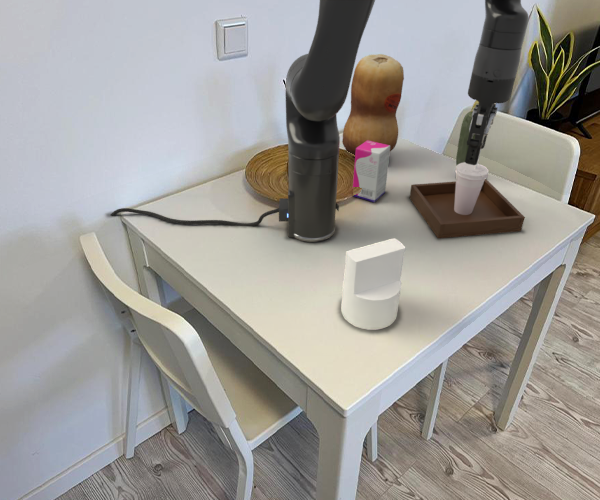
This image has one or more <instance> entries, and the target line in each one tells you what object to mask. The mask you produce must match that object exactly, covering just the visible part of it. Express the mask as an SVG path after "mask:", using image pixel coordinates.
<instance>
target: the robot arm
mask: <svg viewBox="0 0 600 500" xmlns="http://www.w3.org/2000/svg"><path fill="white" fill-rule="evenodd" d="M375 3H376V0H319V5H318V17H317V21H316V22H317V23H316V27H315V32H314V36H313V39H312V41H311V45H310V47H309V51H308V53H305V54H303V55H300V56H299V57H298V58H296V59H295V60H294V61H293V62H292V63H291V65H290V66H289V68H288V70H287V72H286V77H285V91H284V92H285V93H284V95H285V128H286V135H287V143H288V144H287V151H288V159H287V160H288V162H287V163H288V164H287V165H288V172H287V173H288V189H287V198H284V197H283V198H279V201H278V202H279V203H278V208H275V209H272V210H268V211H266V212H264V213H262V214H261V215H260V216H259V217H258V219H257V221H254V222H248V223H246V222H245V223H244V222H236V221H229V220H223V219H199V220H198V219H197V220H196V219H195V220H183V219H175V218H171V217H167V216H163V215H162V214H158V213H156V212H154V211H153V212H152V211H148V210H141V209H137V208H130V207H129V208H128V207H121V208H117V209H116V210H114V211H112V212H111V213H110V216H111V217H114V216H116V215H117V214H119V213H125V212H126V213H134V214H139V215H147V216H151V217H153V218H154V217H155V218H157V219H160V220H163V221H165V222H168V223H174V224H180V225H209V224H211V225H213V224H214V225H227V226H235V227H237V226H238V227H256V226H259V225H261V223H262V221H263V220H264V218H266V217H268V216H269V215H274V214H277V213H278V222H281V223H283V222H287V235H288V238H294V239H296V240H298V241H302V242H307V243H316V242H323V241H326V240H328V239H330V238H331V237H332V236H334V234H335V232H336V213H337V212H339V210H340V205H339V204H338V203H337V197H338V196H337V194H338V178H339V177H338V176H339V162H340V159H339V158H340V145H341V143H340V142H341V139H340V138H341V137H340V132H339V126H338V119H337V114H338V113H339V112H340V110H341V109H342V108H343V106H344V104H345V102H346V100H347V97H348V94H349V89H350V87H351V86H350V85H351V83H352V78H353V74H354V69H355V63H356V61H357V60H356V59H357V56H358V51H359V47H360V44H361V41H362V37H363V35H364V33H365V29H366V27H367V24H368V22H369V18H370V16H371V13H372V11H373V8H374V5H375ZM484 9H485V10H484V11H485V12H484V13H485V17H484V21H483V26H482V30H481V35H480V40H479V44H478V47H477V51H476V53H475V57H474V62H473V66H472V70H471V75H470V80H469V85H468V90H467V95H468V97H469V98H470V99H472V100H474V101H476V100H477V101H478V102H479V104H476V106H475V108H474V109H473V113H472V121H471V125H470V128H469V132H470V133H469V137H468V140H467V145H469V146H468V150H467V155H466V159H465V163H466V164H470V165H476V164H477V162H478V163H479V161H478V158H479V159H480V157H479V154H480V155H481V153H480V150H481V151H482V149H484V148H485V146H486V142H487V138H488V135H489V133H490V129H491V127H492V125H493V124H494V121H495V119H496V118H495V117H496V115H497V112H498V107H497V104H504V103H507V102H508V101H510V99H511V96H512V93H513V89H514V85H515V82H516V77H517V73H518V70H519V66H520V62H521V54H522V47H523V44H524V40H525V36H526V34H527V33H526V32H527V29H528V24H529V14H528V12H527V10H526V9H525V8H524V7H523V6H522V0H484ZM474 134H475V138H474V139H473V135H474Z"/></svg>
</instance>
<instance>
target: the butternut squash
mask: <svg viewBox="0 0 600 500" xmlns="http://www.w3.org/2000/svg"><path fill="white" fill-rule="evenodd" d="M404 80H405V75H404V67H403V65H402V64H401V63H400V61H398V60H397V59H395V57H392V56H390V55H387V54H383V53H376V54H368V55H365V56H364V57H362V58H361V59H360V60H359V61H358V63H357V64H356V66H355V67H354V70H353V74H352V79H351V84H350V85H351V86H350V112H349V115H348V117H347V119H346V122H345V124H344V126H343V131H342V141H341V142H342V145H343V147H344V149H345V151H346V152H347V151H348V152H350V153H352V154H354V155H355V151H356V148H357V147H358V146H360V145H361V144H363V143H364V142H366V141H367V140H368V141H373V142H377V143H381V144H386V145H390V152H392V151H393V150H394V149H395V147H396V145H397V143H398V139H399V125H398V120H397V111H398V108H399V105H400V103H401V99H402V93H403V86H404Z"/></svg>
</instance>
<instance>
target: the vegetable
mask: <svg viewBox="0 0 600 500" xmlns="http://www.w3.org/2000/svg"><path fill="white" fill-rule="evenodd" d="M476 104H479V102H478V101H477V100H474V103H473V104H472V107H471V109H470V111H468V112H467V113H466V114H465V115H464V117H463V119H462V122H461V125H460V130H459V131H460V132H459V138H458V144H457V151H456V156H455V166H457V165H458V164H460V163H463V162H465V159H466V155H467V150H468V146H469V145H467V140H468V137H469V133H470V132H469V128H470V125H471V121H472V113H473V109H474V108H475V106H476ZM474 138H475V134H474V135H473V139H474Z"/></svg>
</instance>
